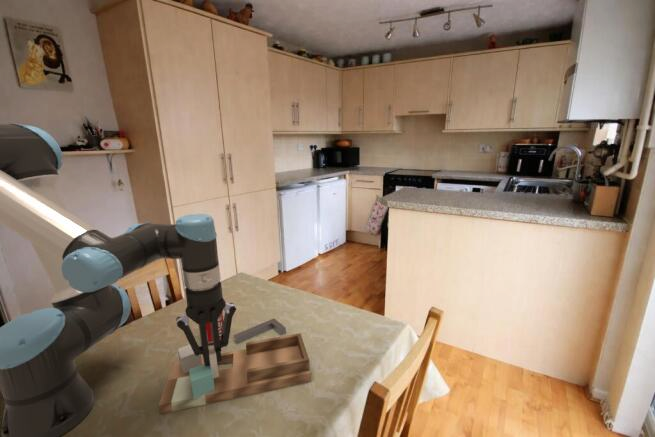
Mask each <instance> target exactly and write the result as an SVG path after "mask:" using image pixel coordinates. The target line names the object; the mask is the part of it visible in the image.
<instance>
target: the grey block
mask: <svg viewBox="0 0 655 437" xmlns="http://www.w3.org/2000/svg"><path fill="white" fill-rule="evenodd" d="M177 355H178V361H179V362H180V366H181V369H182V371H183V374H185V373H187V372H189V369H191V368H194V367H197V366H200V365H202V360H201V357H202V355H201V354H200V355H198V356H196V355H195V354H194V352H193V350H192V348H191V346H190V344H188V345H185V346H182V347H179V348H177Z"/></svg>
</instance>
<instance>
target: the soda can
mask: <svg viewBox="0 0 655 437" xmlns="http://www.w3.org/2000/svg"><path fill="white" fill-rule="evenodd" d="M223 321H224V314H223V311H222V313H221V315H220V316H219V318H218V330H219V339H220V340H221V334H222V328H223ZM197 325H198V326H199V324H197ZM198 330H199V329H198ZM206 331H207V340H208V345H209V344H212V345H213V338H212V330H211V322H209V323H207V324H206ZM199 333H200V330H199Z"/></svg>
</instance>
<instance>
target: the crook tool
mask: <svg viewBox="0 0 655 437" xmlns="http://www.w3.org/2000/svg"><path fill="white" fill-rule="evenodd" d="M271 329H272V330H274V332H275V333H277V334H278V335H279V337H282V336H283V335H285V334H287V328H286V326H284V325H283V324H282V323H281V322H280V321H278V320H277V319H276V318H272V319H269V320H267V321H264V322H261V323H259V324H257V325H254V326H252V327H250V328H247V329H245V330H243V331H240V332H238V333H236V334H234V335H233V342H234V343H235V344H236V345H238V344H240V343H243V342H245V341H247V340H250V339H251V338H254V337H256V336H258V335H260V334H263V333H265V332H268V331H270V330H271Z"/></svg>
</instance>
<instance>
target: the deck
mask: <svg viewBox="0 0 655 437" xmlns="http://www.w3.org/2000/svg"><path fill="white" fill-rule="evenodd" d="M307 352H308V351H307V349H306V347H305V342H304V340H303V336H302V333H301V332H300V333H295V334H289V335H284V336H283V335H281V336H277V337H272V338H266V339H261V340H255V341H254V340H253V341H250V342H249V341H248V342H245V349H244V348H243V349H240V350H233V351H230V352H223V353H222V352H221V361H220V362H217V366H219V365H225V364H229V363H232V367H228V368H224V369H223V368H222V369H218V374H219V377H216V378H214V379H213V380H214V388H215V391H212V392H210V393H207V394H205V395H202V396H200V397H197V398H194V397H193V392H192V387H191V381H190V374H189V372H187V373H185V374H183V371H182V369H181V366H180V362H179V360H178V361H174V362H171V365H170V368H169V370H168V374H167V378H166V379H165V380H166V381H165V384H164V387H163V390H162V394H161V397H160V400H159V403H158V408H159V414H160V415H164V414H168V413H173V412H178V411H182V410H186V409H190V408H195V407H200V406H204V405H208V404H213V403H218V402H223V401H226V400H227V401H229V400H231V399H232V400H233V399H236V398H237V399H238V398H241V397H246V396H250V395H255V394H260V393H263V392H268V391H272V390H274V391H275V390H277V389H283V388H287V387H292V386H297V385H302V384H305V383H311V371H310V360H309V359H310V358H309V356H308V353H307ZM201 360H202V365H203V364H204V359H203V356H201Z"/></svg>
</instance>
